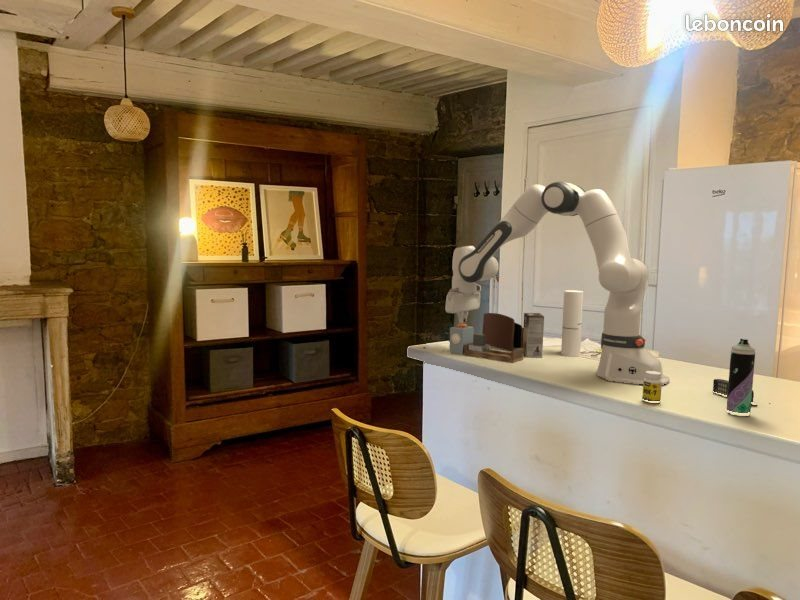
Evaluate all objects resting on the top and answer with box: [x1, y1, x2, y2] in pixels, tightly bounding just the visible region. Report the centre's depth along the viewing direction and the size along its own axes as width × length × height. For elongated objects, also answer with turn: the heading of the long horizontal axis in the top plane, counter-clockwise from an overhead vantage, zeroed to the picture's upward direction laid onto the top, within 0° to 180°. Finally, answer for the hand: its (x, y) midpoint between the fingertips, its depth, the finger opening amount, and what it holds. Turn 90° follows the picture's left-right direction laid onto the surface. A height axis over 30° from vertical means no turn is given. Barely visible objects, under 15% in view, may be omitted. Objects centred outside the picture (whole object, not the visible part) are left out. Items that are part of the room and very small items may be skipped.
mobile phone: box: [712, 378, 755, 402], centre depth 169 cm, size 5×3×15 cm
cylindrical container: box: [560, 289, 584, 358], centre depth 229 cm, size 7×7×25 cm
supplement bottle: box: [641, 371, 663, 402], centre depth 165 cm, size 5×5×8 cm
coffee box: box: [522, 312, 545, 359], centre depth 228 cm, size 9×6×16 cm
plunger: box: [456, 323, 468, 328], centre depth 231 cm, size 4×4×7 cm
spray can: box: [726, 338, 756, 413], centre depth 154 cm, size 6×6×20 cm
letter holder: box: [481, 312, 523, 352], centre depth 246 cm, size 10×20×14 cm, turn 30°
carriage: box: [468, 333, 491, 353], centre depth 227 cm, size 6×6×7 cm
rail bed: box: [463, 343, 524, 364], centre depth 223 cm, size 21×8×4 cm, turn 52°
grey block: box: [448, 325, 475, 356], centre depth 231 cm, size 6×8×10 cm
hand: (462, 322), depth 231 cm, fingers closed
